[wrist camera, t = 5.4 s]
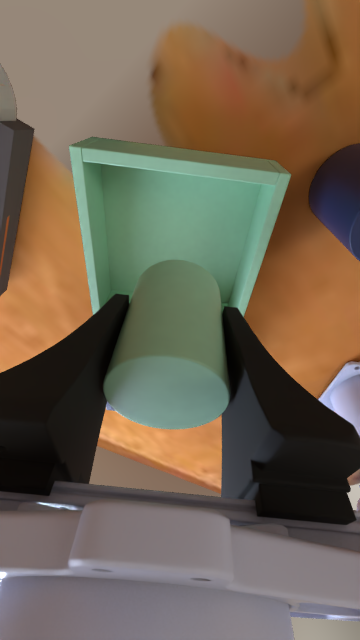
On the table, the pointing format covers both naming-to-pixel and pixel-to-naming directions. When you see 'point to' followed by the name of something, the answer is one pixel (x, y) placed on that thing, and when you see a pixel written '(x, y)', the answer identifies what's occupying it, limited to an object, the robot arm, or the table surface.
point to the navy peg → (339, 196)
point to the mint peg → (171, 350)
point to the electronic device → (11, 173)
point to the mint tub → (173, 214)
